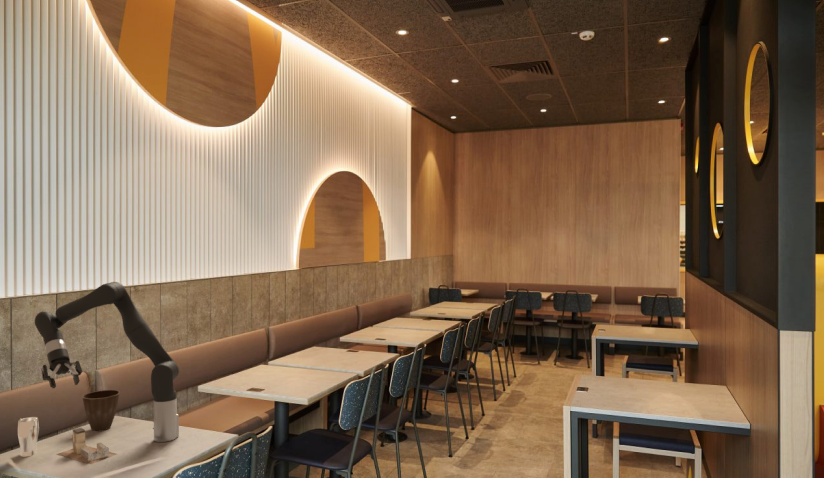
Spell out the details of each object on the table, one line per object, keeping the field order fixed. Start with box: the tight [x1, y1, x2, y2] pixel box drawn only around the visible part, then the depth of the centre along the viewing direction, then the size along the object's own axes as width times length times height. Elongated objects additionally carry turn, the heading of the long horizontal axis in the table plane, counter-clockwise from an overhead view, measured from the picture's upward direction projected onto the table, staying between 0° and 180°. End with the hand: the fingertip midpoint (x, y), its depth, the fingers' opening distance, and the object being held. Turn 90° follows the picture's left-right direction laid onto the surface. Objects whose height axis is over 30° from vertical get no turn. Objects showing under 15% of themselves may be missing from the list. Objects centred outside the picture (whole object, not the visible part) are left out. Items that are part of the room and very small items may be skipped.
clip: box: [80, 442, 110, 462], centre depth 217 cm, size 9×7×3 cm
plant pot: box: [82, 389, 121, 432], centre depth 253 cm, size 15×15×16 cm
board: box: [56, 445, 117, 465], centre depth 220 cm, size 11×22×1 cm, turn 63°
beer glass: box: [17, 416, 40, 458], centre depth 221 cm, size 7×7×15 cm
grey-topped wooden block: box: [72, 427, 86, 455], centre depth 222 cm, size 5×3×9 cm, turn 48°
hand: (65, 385), depth 229 cm, fingers open, 8 cm apart
